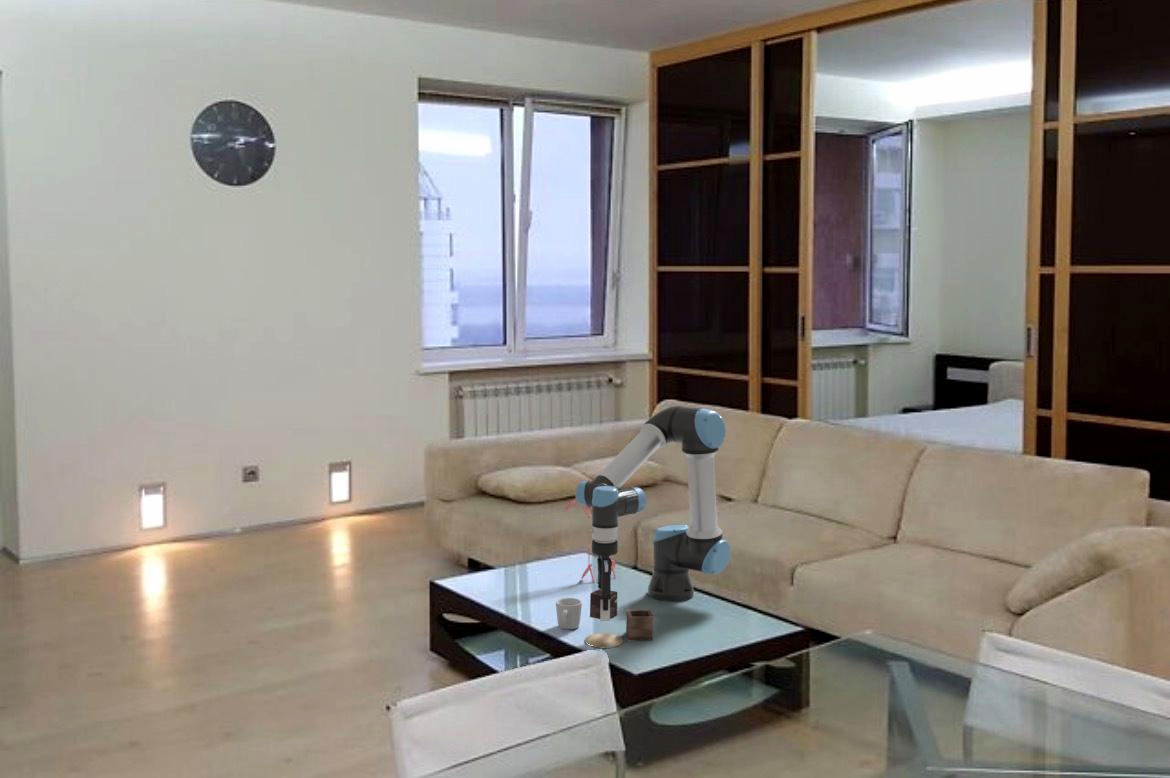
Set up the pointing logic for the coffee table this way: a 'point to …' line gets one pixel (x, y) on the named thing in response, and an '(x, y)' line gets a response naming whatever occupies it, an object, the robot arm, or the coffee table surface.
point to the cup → (568, 612)
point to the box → (596, 604)
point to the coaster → (604, 640)
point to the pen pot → (639, 625)
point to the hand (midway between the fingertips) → (603, 615)
